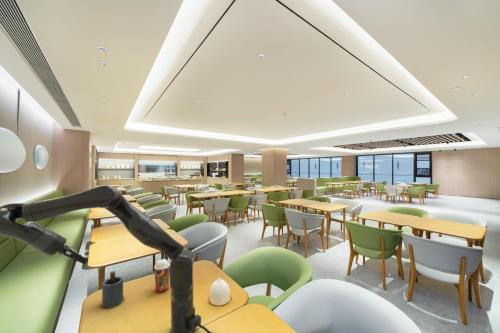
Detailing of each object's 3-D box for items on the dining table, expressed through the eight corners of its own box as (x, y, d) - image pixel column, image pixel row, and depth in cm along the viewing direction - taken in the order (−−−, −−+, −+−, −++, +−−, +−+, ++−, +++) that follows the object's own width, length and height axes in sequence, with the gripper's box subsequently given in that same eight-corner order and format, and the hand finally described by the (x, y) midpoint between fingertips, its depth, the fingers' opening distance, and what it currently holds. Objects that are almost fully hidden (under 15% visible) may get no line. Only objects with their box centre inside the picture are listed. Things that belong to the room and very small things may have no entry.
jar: (126, 300, 111) (126, 279, 111) (107, 310, 103) (107, 287, 103) (118, 295, 116) (117, 274, 116) (99, 303, 108) (99, 282, 109)
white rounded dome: (233, 301, 110) (233, 278, 110) (213, 308, 105) (213, 283, 105) (225, 290, 120) (225, 269, 120) (206, 296, 115) (206, 273, 115)
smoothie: (164, 294, 116) (164, 258, 116) (150, 292, 118) (150, 256, 118) (172, 286, 124) (172, 252, 124) (160, 284, 126) (160, 251, 126)
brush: (119, 300, 110) (119, 271, 110) (109, 305, 106) (109, 275, 106) (115, 297, 113) (115, 269, 113) (105, 302, 109) (105, 272, 109)
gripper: (62, 236, 84) (96, 255, 93) (51, 230, 92) (83, 248, 101) (43, 254, 79) (81, 272, 89) (33, 246, 87) (69, 263, 97)
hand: (82, 259), depth 95 cm, fingers open, 8 cm apart
